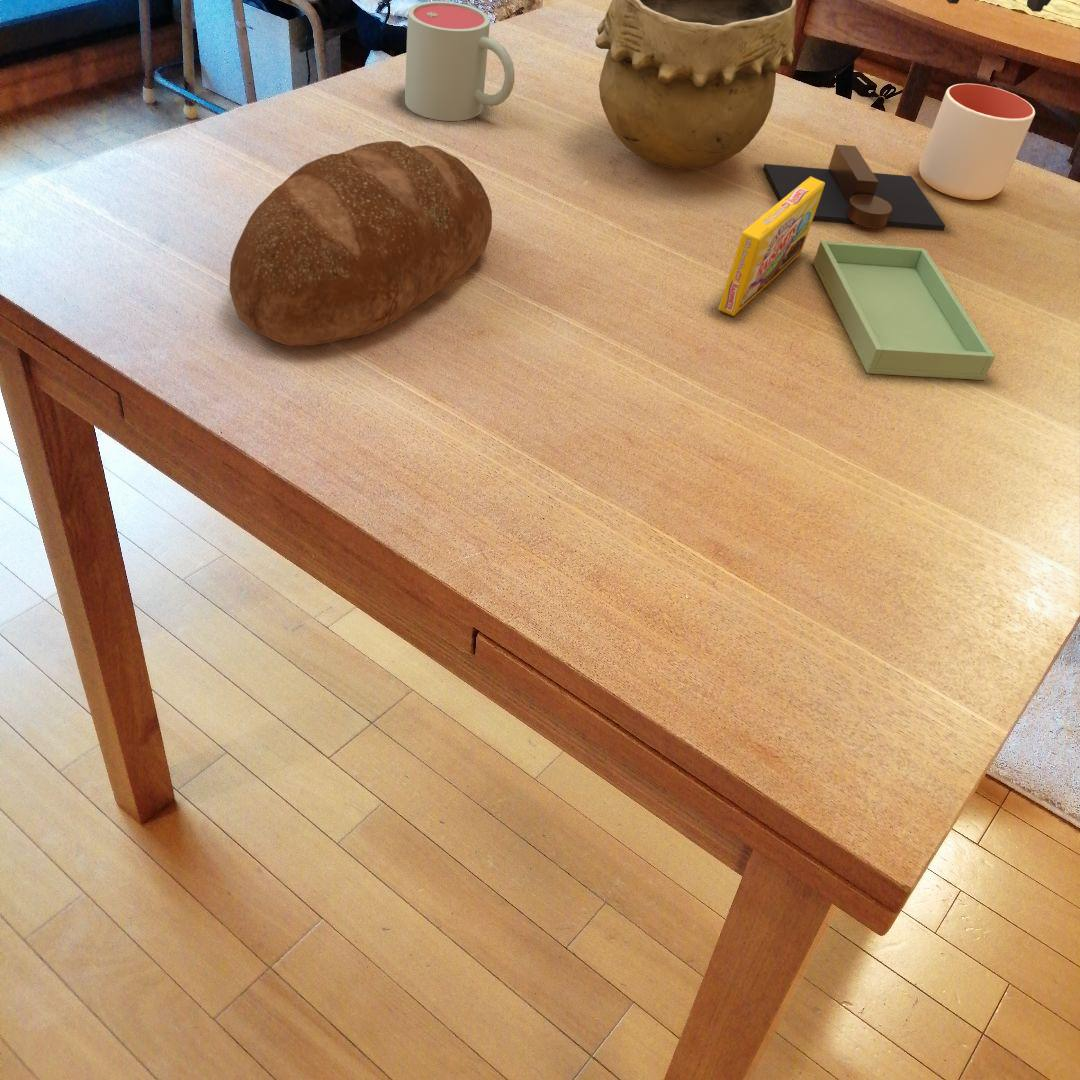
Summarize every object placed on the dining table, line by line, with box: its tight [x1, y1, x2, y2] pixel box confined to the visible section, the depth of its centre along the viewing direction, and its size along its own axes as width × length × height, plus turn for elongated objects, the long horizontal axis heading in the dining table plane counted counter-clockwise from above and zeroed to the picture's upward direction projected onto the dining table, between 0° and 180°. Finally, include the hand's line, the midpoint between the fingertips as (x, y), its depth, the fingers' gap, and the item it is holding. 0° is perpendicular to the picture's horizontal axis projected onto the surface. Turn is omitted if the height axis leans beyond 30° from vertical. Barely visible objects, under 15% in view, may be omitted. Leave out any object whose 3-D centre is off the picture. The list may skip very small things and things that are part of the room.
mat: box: [762, 163, 946, 231], centre depth 123 cm, size 18×12×1 cm, turn 94°
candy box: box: [718, 176, 825, 317], centre depth 104 cm, size 16×2×8 cm, turn 147°
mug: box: [404, 0, 515, 122], centre depth 125 cm, size 14×9×10 cm
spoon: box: [827, 144, 892, 229], centre depth 121 cm, size 5×14×3 cm, turn 4°
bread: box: [228, 140, 493, 347], centre depth 95 cm, size 16×29×11 cm, turn 149°
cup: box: [918, 83, 1036, 201], centre depth 126 cm, size 10×10×10 cm
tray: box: [812, 240, 996, 381], centre depth 104 cm, size 11×19×3 cm, turn 4°
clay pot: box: [594, 0, 797, 170], centre depth 118 cm, size 21×21×20 cm
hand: (992, 5), depth 106 cm, fingers open, 8 cm apart
